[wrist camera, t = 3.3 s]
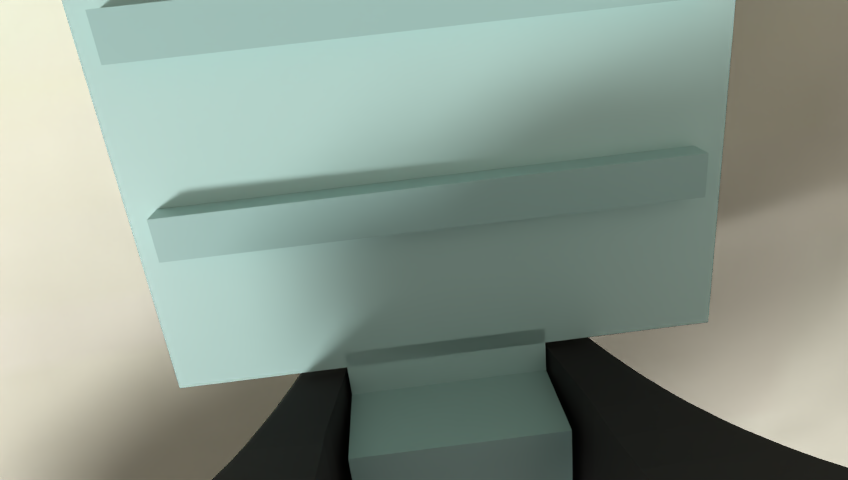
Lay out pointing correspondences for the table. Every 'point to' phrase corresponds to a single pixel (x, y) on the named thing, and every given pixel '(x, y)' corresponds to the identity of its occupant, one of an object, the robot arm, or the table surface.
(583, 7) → the teal ridged block
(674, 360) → the table surface
